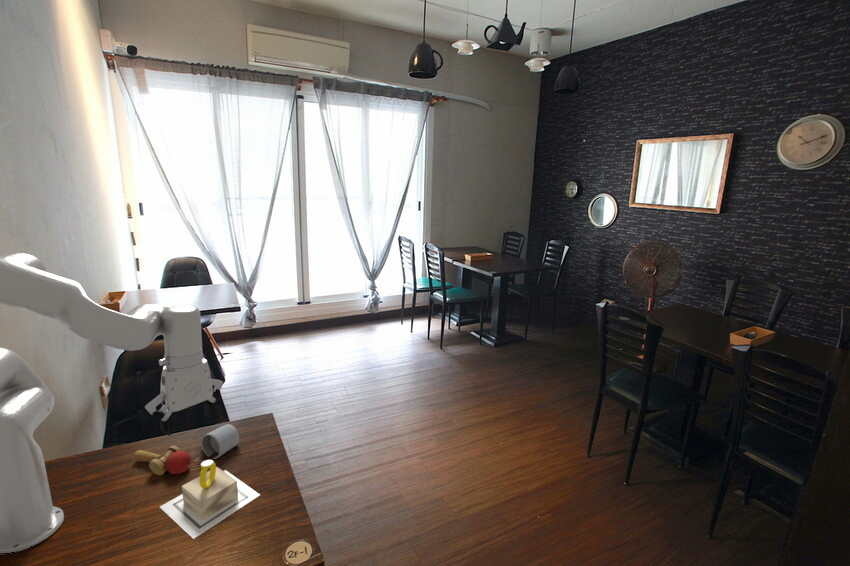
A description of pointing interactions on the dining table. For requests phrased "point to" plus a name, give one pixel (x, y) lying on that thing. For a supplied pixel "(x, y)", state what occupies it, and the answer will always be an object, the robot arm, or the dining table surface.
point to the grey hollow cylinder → (220, 440)
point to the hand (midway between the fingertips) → (188, 424)
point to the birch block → (210, 494)
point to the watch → (205, 466)
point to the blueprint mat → (198, 526)
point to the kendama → (165, 460)
